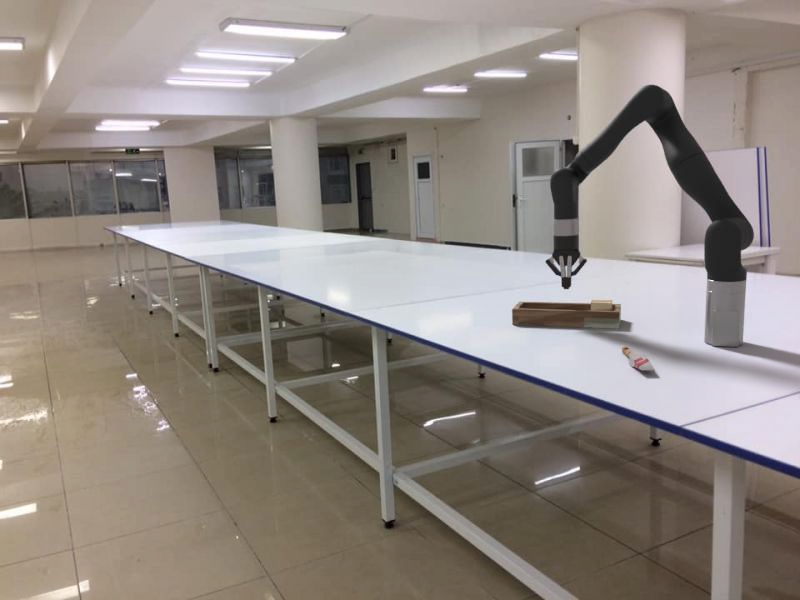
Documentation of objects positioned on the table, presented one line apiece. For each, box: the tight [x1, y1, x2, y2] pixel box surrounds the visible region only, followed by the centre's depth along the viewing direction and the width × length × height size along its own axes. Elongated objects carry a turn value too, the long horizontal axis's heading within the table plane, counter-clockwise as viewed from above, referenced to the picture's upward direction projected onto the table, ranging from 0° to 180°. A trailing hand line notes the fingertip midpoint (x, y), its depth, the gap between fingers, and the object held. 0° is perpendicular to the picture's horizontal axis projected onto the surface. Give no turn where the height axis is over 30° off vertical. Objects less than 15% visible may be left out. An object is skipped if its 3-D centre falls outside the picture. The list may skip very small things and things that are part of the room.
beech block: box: [590, 298, 613, 311], centre depth 196 cm, size 5×6×4 cm
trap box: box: [511, 301, 622, 330], centre depth 200 cm, size 12×32×5 cm, turn 69°
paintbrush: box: [621, 346, 656, 371], centre depth 155 cm, size 4×3×20 cm
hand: (566, 288), depth 198 cm, fingers closed
